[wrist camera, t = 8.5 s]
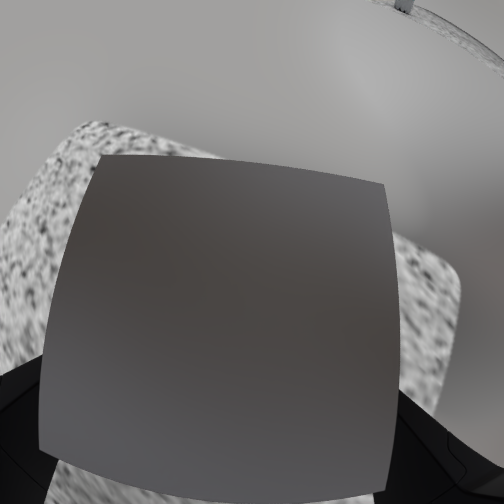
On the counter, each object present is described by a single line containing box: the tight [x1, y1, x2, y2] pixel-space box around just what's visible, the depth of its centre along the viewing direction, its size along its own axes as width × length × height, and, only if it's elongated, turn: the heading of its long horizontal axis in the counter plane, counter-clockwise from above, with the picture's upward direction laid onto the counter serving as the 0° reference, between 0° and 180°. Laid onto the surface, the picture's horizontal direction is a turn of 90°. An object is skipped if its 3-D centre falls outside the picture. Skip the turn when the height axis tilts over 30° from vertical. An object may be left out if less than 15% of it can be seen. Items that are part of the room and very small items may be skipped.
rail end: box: [39, 155, 400, 504], centre depth 10 cm, size 5×5×14 cm
